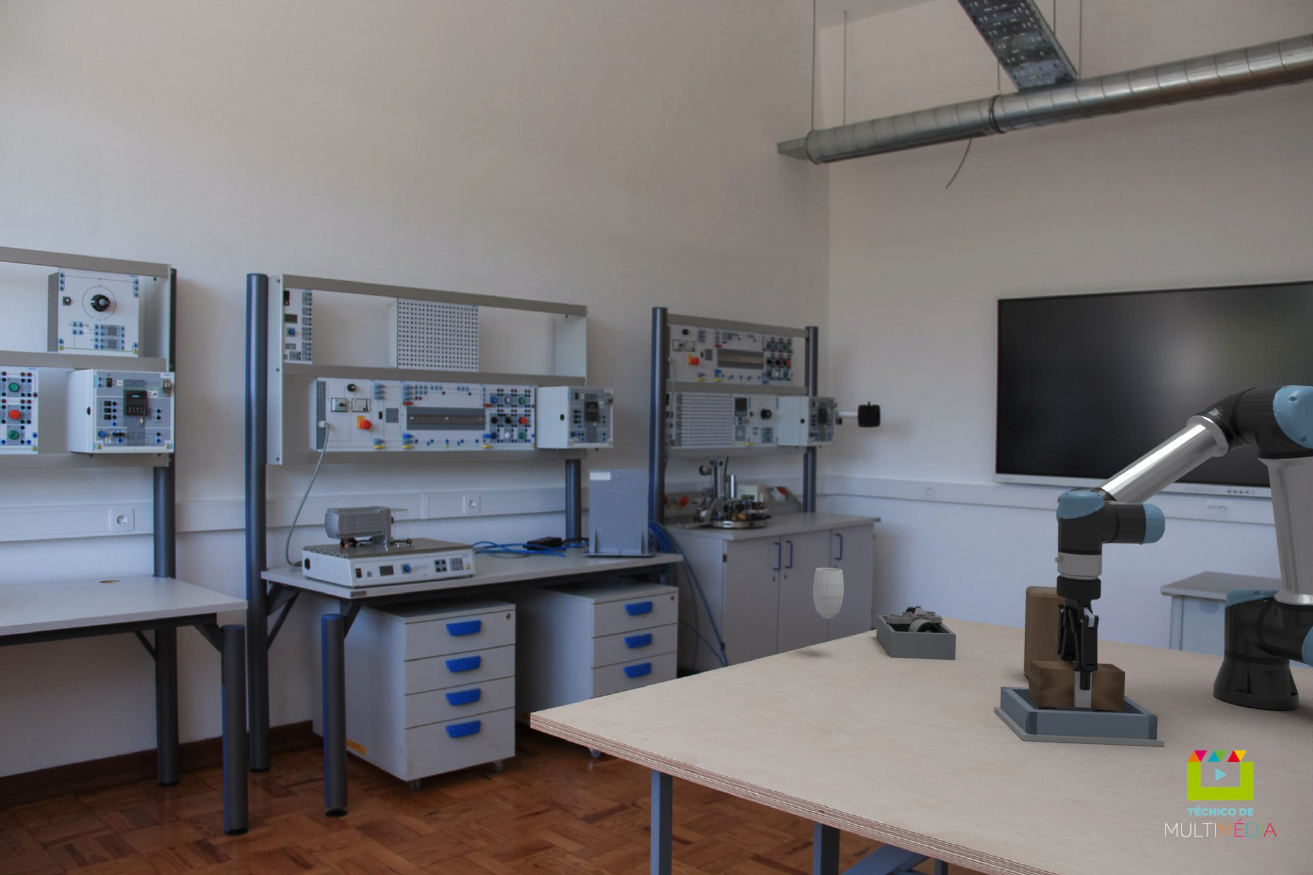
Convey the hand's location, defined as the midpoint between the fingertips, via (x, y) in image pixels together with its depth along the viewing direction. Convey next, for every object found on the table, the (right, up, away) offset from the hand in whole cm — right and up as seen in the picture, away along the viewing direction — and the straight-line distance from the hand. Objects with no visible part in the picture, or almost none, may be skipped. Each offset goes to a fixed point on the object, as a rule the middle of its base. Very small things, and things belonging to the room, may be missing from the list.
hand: (1075, 701), depth 181 cm
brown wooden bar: (0, 0, 0) cm, 0 cm away
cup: (-37, -4, +53) cm, 64 cm away
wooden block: (+9, -5, +35) cm, 37 cm away
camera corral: (-13, -4, +64) cm, 66 cm away
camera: (-12, -4, +64) cm, 66 cm away
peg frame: (0, -5, 0) cm, 5 cm away
